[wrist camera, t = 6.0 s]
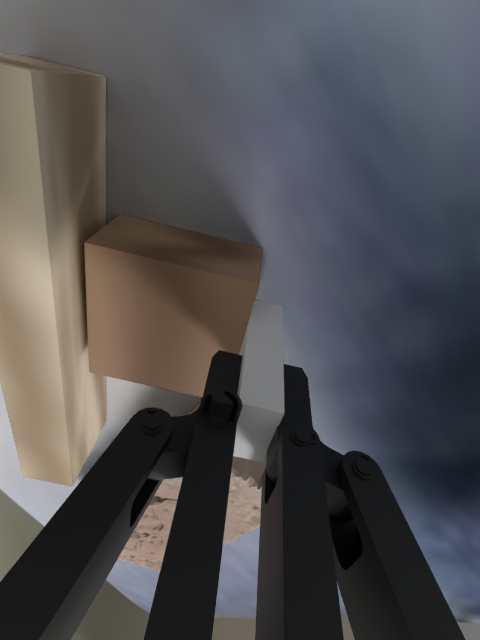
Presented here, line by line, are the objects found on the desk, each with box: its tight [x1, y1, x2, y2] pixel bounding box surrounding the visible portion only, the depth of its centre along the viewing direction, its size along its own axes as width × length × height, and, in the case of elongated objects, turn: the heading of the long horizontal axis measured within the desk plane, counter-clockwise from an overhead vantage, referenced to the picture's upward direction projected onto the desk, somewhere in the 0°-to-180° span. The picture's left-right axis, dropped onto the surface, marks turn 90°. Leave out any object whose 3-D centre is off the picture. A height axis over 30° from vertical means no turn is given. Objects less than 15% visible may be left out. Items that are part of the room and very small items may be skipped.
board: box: [0, 53, 106, 487], centre depth 17 cm, size 3×21×5 cm, turn 168°
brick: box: [118, 403, 267, 572], centre depth 26 cm, size 17×8×5 cm, turn 145°
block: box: [84, 214, 262, 397], centre depth 17 cm, size 7×7×4 cm
